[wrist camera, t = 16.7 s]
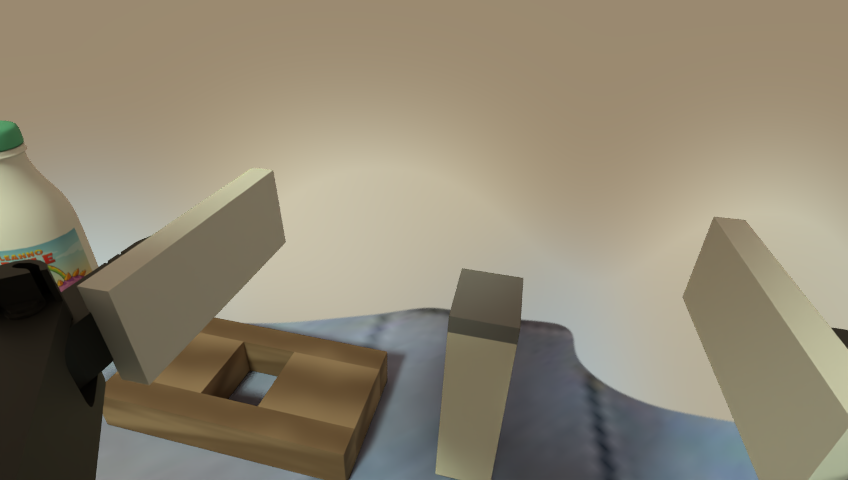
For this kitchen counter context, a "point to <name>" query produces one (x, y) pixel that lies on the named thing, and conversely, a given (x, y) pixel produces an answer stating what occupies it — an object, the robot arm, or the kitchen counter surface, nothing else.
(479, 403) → the plug
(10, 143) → the milk bottle
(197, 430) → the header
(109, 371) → the kitchen counter surface
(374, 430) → the kitchen counter surface
